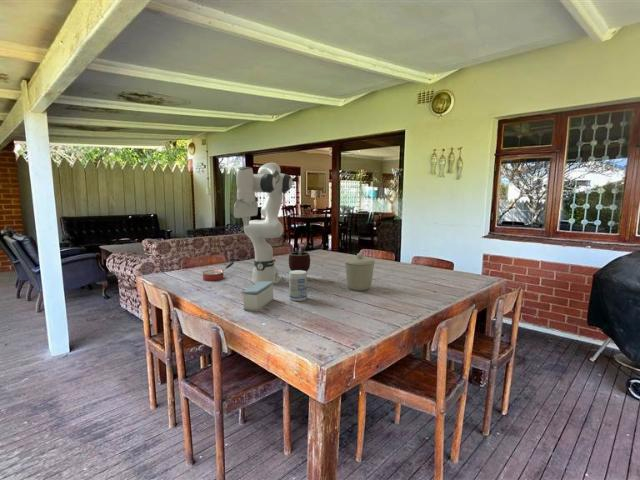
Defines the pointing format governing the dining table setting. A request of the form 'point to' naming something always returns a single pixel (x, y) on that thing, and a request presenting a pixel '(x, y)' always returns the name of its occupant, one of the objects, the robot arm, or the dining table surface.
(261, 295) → the beige open box
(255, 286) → the cover
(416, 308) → the dining table surface
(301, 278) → the supplement tub
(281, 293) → the dining table surface
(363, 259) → the canister
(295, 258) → the brown utensil pot
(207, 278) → the frying pan
